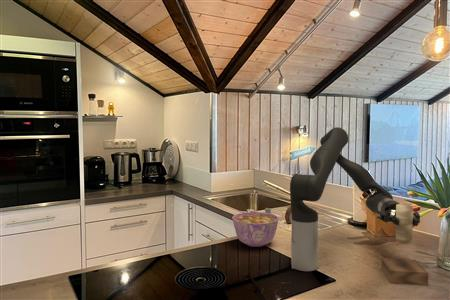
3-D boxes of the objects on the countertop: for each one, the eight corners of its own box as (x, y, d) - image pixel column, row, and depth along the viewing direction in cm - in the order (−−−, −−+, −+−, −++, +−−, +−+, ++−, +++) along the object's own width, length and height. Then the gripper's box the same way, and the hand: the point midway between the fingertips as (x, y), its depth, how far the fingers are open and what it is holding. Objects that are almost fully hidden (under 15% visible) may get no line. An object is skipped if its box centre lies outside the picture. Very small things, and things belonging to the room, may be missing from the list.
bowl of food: (260, 255, 136) (260, 226, 135) (222, 244, 150) (222, 218, 149) (287, 242, 151) (288, 216, 150) (251, 233, 164) (251, 209, 164)
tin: (298, 218, 191) (298, 203, 191) (303, 219, 189) (303, 203, 189) (284, 224, 180) (284, 208, 179) (289, 225, 178) (289, 209, 177)
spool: (398, 243, 113) (399, 207, 113) (393, 238, 118) (394, 203, 118) (414, 244, 113) (415, 207, 112) (409, 239, 118) (409, 204, 117)
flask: (266, 225, 177) (266, 206, 177) (278, 228, 172) (278, 208, 171) (257, 228, 172) (257, 208, 171) (269, 231, 167) (269, 211, 166)
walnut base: (390, 282, 112) (391, 270, 111) (381, 268, 122) (381, 257, 122) (428, 285, 110) (428, 272, 109) (415, 270, 120) (415, 259, 120)
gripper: (370, 199, 130) (383, 210, 113) (412, 200, 128) (431, 212, 111) (370, 219, 131) (383, 233, 114) (411, 220, 128) (430, 235, 112)
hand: (407, 222), depth 113 cm, fingers closed on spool, 5 cm apart
